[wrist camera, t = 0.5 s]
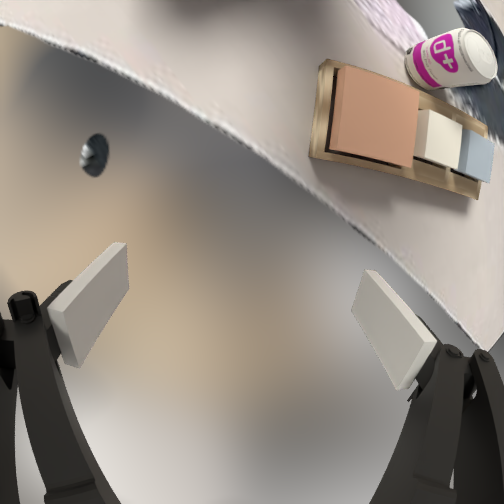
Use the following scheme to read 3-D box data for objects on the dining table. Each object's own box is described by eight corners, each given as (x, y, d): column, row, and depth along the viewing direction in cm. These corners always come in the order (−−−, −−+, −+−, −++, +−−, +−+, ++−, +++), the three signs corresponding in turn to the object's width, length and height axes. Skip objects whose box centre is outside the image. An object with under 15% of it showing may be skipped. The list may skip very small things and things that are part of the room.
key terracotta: (334, 73, 30) (345, 65, 26) (402, 94, 31) (419, 91, 27) (325, 148, 34) (336, 149, 30) (394, 164, 35) (411, 168, 31)
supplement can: (404, 84, 33) (466, 71, 19) (400, 40, 30) (455, 16, 16) (440, 95, 33) (502, 91, 19) (437, 54, 30) (494, 40, 16)
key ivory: (412, 110, 32) (429, 109, 28) (444, 124, 32) (462, 125, 28) (407, 154, 35) (424, 157, 30) (439, 165, 35) (457, 169, 31)
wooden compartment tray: (319, 66, 32) (327, 58, 28) (473, 125, 35) (487, 126, 31) (308, 156, 37) (315, 158, 34) (464, 195, 40) (477, 200, 36)
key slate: (452, 128, 33) (470, 129, 28) (477, 141, 33) (494, 143, 29) (448, 168, 35) (465, 172, 31) (472, 178, 36) (489, 183, 32)
